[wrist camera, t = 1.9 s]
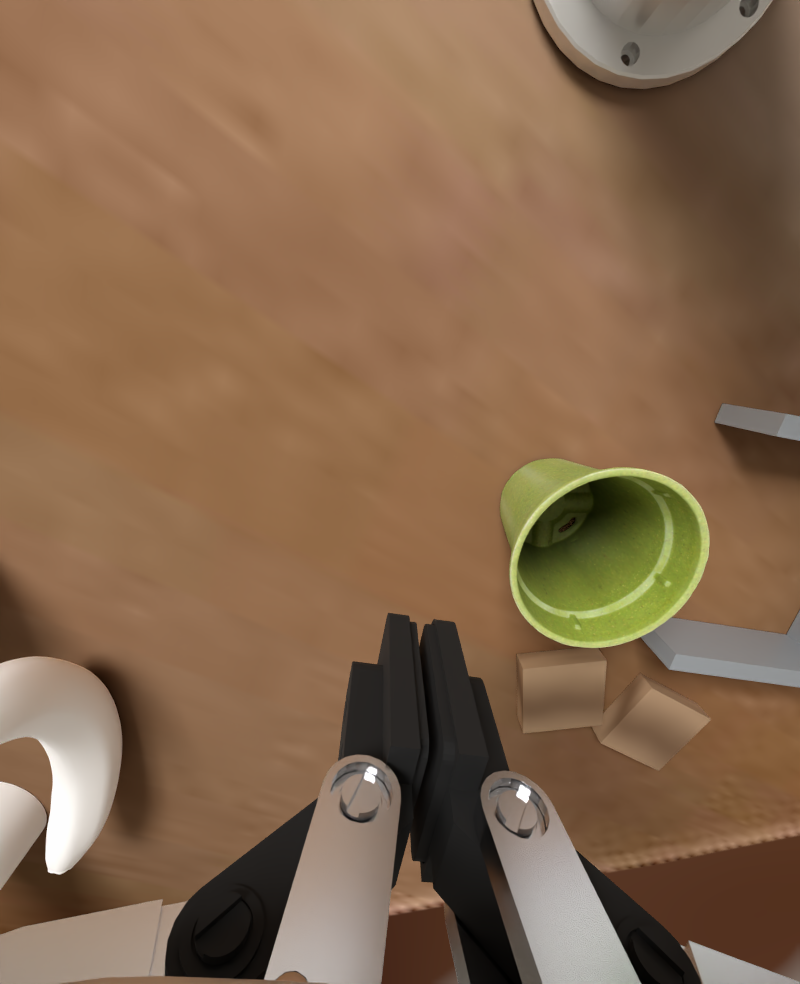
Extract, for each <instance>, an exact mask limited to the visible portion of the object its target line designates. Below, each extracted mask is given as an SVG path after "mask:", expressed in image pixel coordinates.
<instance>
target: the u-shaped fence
mask: <svg viewBox="0 0 800 984" xmlns="http://www.w3.org/2000/svg"><path fill="white" fill-rule="evenodd" d="M715 423H719V424H723V425H728V426H732V427H737V428H741V429H746V430H750V431H755V432H759V433H763V434H768V435H772V436H777V437H782V438H787V439H792V440H798V441H800V416H795V415H790V414H784V413H778V412H772V411H766V410H760V409H754V408H748V407H742V406H735V405H729V404H723V403H722V405H721V408H720V410H719V413H718V415H717V418H716V420H715ZM641 638H642V640H643V641H644V642H645V643H646V644H647V645H648V646H649V647H650V649H651V650H652V651H653V652H654V653H655V654H656V655H657V657H658V658H659V659H660V660H661V661H662V662H663V663H664V664H665V666H666V667H667V668H668V669H669V670H676V671H683V672H690V673H698V674H705V675H712V676H720V677H727V678H734V679H742V680H749V681H756V682H763V683H771V684H778V685H785V686H793V687H800V611H799V613H798V614H797V616H796V618H795V620H794V622H793V623H792V625H791V627H790V629H789V631H788V633H787V634H779V633H773V632H766V631H759V630H752V629H746V628H739V627H732V626H725V625H719V624H712V623H705V622H698V621H692V620H685V619H678V618H670V619H668V620H667V621H666V622H665V623H663V624H662V625H660V626H659V627H657V628H656V629H655V630H653V631H651V632H649V633H647V634H646V635H644V636H641Z"/></svg>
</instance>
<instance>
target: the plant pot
mask: <svg viewBox="0 0 800 984" xmlns="http://www.w3.org/2000/svg"><path fill="white" fill-rule="evenodd" d="M550 505H551V506H550ZM549 506H550V507H549ZM548 507H549V508H548ZM500 516H501V520H502V523H503V526H504V529H505V533H506V536H507V539H508V542H509V545H510V548H511V551H512V553H511V558H510V566H509V579H510V586H511V591H512V594H513V597H514V600H515V603H516V605H517V607H518V609H519V610H520V612H521V613H522V615H523V616H524V618H525V619H526V620H527V621H528V622H529V623H530V624H531V625H532V626H533V627H534V628H535V629H536V630H538V631H539V632H540V633H542V634H543V635H545V636H546V637H548V638H550V639H553V640H554V641H557V642H559V643H562V644H565V645H569V646H574V647H583V648H602V647H609V646H615V645H620V644H623V643H626V642H629V641H632V640H635V639H637V638H639V637H641V636H644V635H646V634H647V633H649V632H651V631H653V630H655V629H656V628H657V627H659V626H660V625H662V624H663V623H665V622H666V621H667V620H668V619H670V618H671V617H672V616H673V615H674V614H676V613H677V612H678V611H679V610H680V609H681V608H682V606H683V605H684V604H685V603H686V602H687V600H688V599H689V598H690V596H691V594H692V593H693V591H694V590H695V589H696V587H697V585H698V583H699V581H700V579H701V577H702V575H703V572H704V568H705V565H706V563H707V559H708V556H709V530H708V525H707V521H706V518H705V515H704V512H703V510H702V508H701V506H700V505H699V503H698V502H697V501H696V499H695V498H694V497H693V496H692V495H691V494H690V493H689V492H688V490H687V489H686V488H684V487H683V486H682V485H681V484H679V483H678V482H676V481H674V480H672V479H671V478H669V477H666V476H664V475H662V474H659V473H656V472H653V471H649V470H645V469H639V468H626V467H619V468H609V469H603V470H599V469H595V468H592V467H588V466H584V465H581V464H577V463H574V462H570V461H567V460H563V459H554V458H552V459H541V460H536V461H533V462H531V463H528V464H527V465H525V466H523V467H522V468H520V469H519V470H518V471H517V472H515V473H514V474H513V475H512V477H511V478H510V479H509V480H508V482H507V483H506V485H505V487H504V489H503V492H502V495H501V502H500ZM574 517H575V518H576V519H575V522H574V524H573V525H572V526H571V527H570V528H568V529H567V530H565V531H563V532H559V529H560V528H561V527H563V526H564V525H566V524H567V523H568V522H569V521H570V520H571V519H572V518H574Z"/></svg>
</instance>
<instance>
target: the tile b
mask: <svg viewBox="0 0 800 984" xmlns="http://www.w3.org/2000/svg"><path fill="white" fill-rule="evenodd" d="M710 720H711V718H710V717H709V716H708V715H707V714H706V713H705V712H704V710H703V709H702V708H701V707H700V706H699V705H698V704H697V703H696V702H694V701H692V700H690V699H688V698H686V697H685V696H683V695H681V694H679V693H677V692H675V691H673V690H671V689H669V688H668V687H666V686H664V685H662V684H660V683H658V682H656V681H654V680H652V679H651V678H649V677H647V676H645V675H643V674H641V673H639V675H638V676H637V677H636V678H635V679H634V680H633V681H632V682H631V683H630V684H629V685H628V687H627V688H626V689H625V690H624V691H623V692H622V693H621V694H620V695H619V696H618V697H617V698H616V700H615V701H614V702H613V703H612V704H611V705H610V706H609V707H608V708H607V709H606V710H605V712H604V713H603V721H602V725H599V726H591V727H592V729H593V731H594V732H595V734H596V736H597V738H598V740H599V742H600V743H601V744H603V745H605V746H607V747H609V748H612V749H614V750H616V751H618V752H620V753H622V754H624V755H626V756H628V757H630V758H632V759H635V760H637V761H639V762H641V763H643V764H645V765H647V766H649V767H651V768H653V769H655V770H657V771H659V770H660V769H661V768H662V767H663V766H664V765H665V764H666V763H668V762H669V761H670V760H671V759H672V758H673V757H674V756H675V755H676V754H677V753H678V752H679V751H680V750H681V749H682V748H683V747H684V746H685V745H686V744H687V743H688V742H689V741H690V740H691V739H692V738H693V737H694V736H695V735H696V734H697V733H698V732H699V731H700V730H701V729H702V728H703V727H704V726H705V725H706V724H707V723H708V722H709V721H710Z"/></svg>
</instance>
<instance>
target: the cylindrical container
mask: <svg viewBox="0 0 800 984" xmlns="http://www.w3.org/2000/svg"><path fill="white" fill-rule="evenodd" d="M46 822H47V815H46V812H45V809H44V807H43V806H42V804H41V803H40V801H39V800H38V799H37V798H36V797H35V796H33V795H32V794H31V793H29V792H28V791H26V790H24V789H22V788H20V787H18V786H15V785H13V784H9V783H5V782H0V890H1V888H2V887H3V886H4V884H5V883H6V881H7V880H8V879H9V877H10V876H11V874H12V873H13V872H14V870H15V869H16V867H17V866H18V865H19V863H20V862H21V860H22V859H23V858H24V856H25V855H26V853H27V852H28V851H29V849H30V848H31V846H32V845H33V844H34V842H35V841H36V839H37V838H38V837H39V835H40V834H41V832H42V831H43V829H44V828H45V826H46Z"/></svg>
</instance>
